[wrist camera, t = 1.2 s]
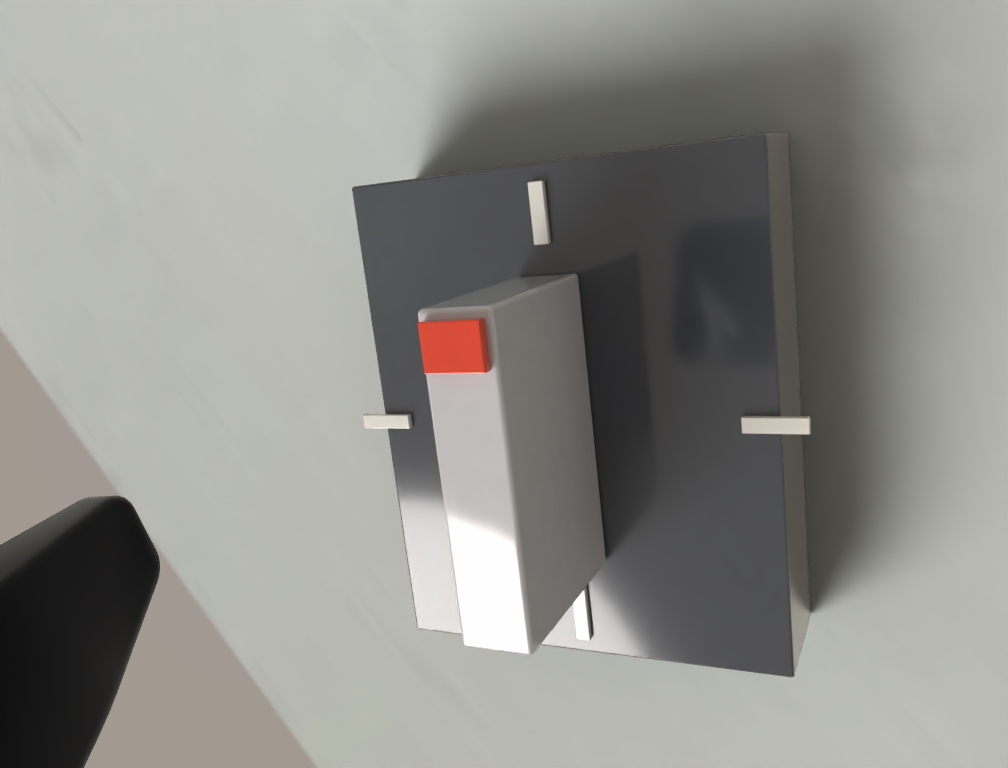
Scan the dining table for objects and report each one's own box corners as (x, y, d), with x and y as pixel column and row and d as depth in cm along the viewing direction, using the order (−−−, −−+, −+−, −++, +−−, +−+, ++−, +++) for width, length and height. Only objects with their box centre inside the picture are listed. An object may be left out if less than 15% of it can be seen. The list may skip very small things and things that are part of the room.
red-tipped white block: (607, 562, 21) (528, 663, 17) (546, 557, 22) (456, 653, 18) (578, 272, 20) (485, 308, 16) (514, 277, 21) (408, 311, 17)
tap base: (835, 618, 22) (821, 686, 20) (450, 580, 27) (395, 629, 25) (816, 129, 20) (797, 128, 17) (394, 184, 25) (327, 189, 22)
